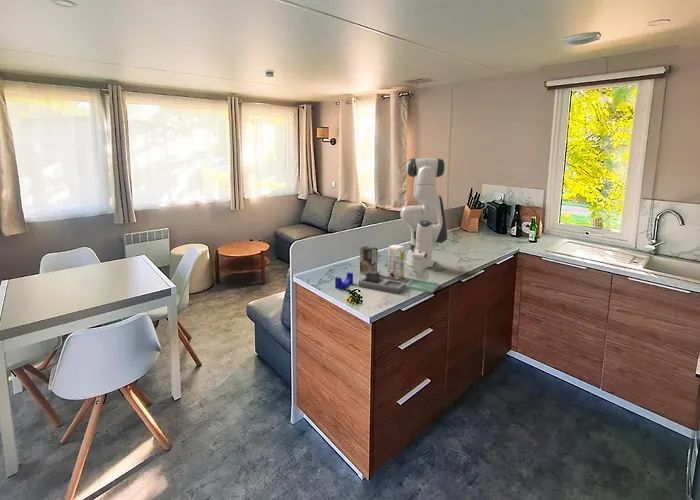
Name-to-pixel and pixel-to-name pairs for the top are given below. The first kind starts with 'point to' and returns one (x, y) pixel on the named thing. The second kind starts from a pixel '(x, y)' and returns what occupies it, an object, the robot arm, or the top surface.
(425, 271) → the plug
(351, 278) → the cable clip
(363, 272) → the coffee box
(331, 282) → the top surface
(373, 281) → the grey compartment holder
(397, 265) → the juice carton
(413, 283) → the tray
